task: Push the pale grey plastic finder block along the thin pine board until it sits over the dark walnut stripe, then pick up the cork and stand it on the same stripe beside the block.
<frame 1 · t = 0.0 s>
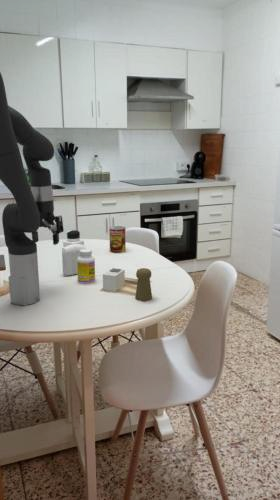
hand: (45, 243, 148), 17 cm above the table, tool pointing down, fingers open, 8 cm apart
finder: (114, 287, 151), point 1 cm above the table, touching board
canned food: (117, 251, 204), on the table
board: (126, 287, 153), on the table
cork: (143, 300, 141), on the table
supplement bottle: (86, 283, 158), on the table
photo printer: (75, 273, 169), on the table
medicine bottle: (74, 255, 196), on the table
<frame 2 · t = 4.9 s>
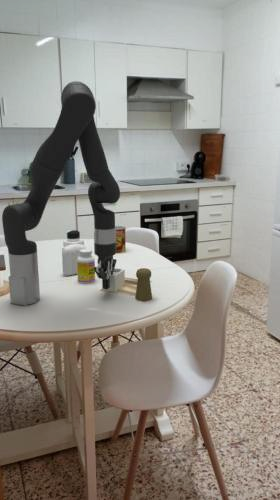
hand: (106, 288, 144), 3 cm above the table, tool pointing down, fingers closed
finder: (114, 287, 151), point 1 cm above the table, touching board, gripper
everything else where it was.
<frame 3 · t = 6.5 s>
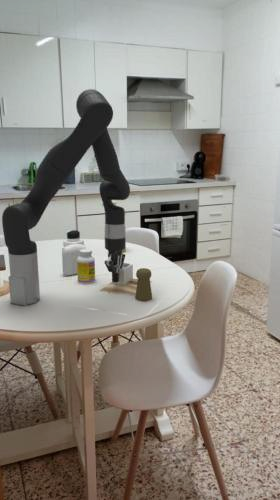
hand: (115, 281, 151), 3 cm above the table, tool pointing down, fingers closed
finder: (122, 281, 158), point 1 cm above the table, touching board, gripper
everything else where it was.
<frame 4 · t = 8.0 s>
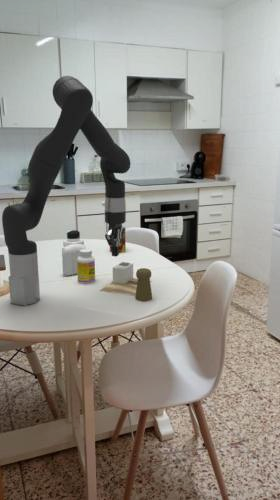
hand: (115, 255, 152), 12 cm above the table, tool pointing down, fingers closed
finder: (123, 280, 159), point 1 cm above the table, touching board
everything else where it was.
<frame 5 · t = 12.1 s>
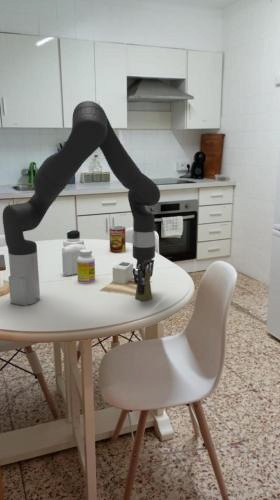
hand: (143, 291, 140), 3 cm above the table, tool pointing down, fingers closed on cork, 4 cm apart
cork: (143, 300, 141), on the table, touching gripper
everything else where it was.
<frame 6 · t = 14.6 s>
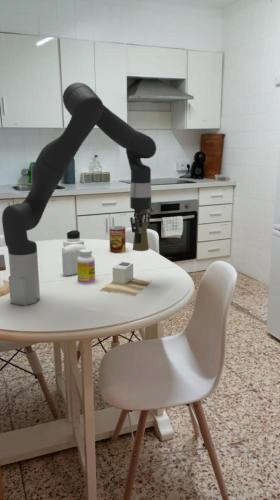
hand: (140, 241, 151), 17 cm above the table, tool pointing down, fingers closed on cork, 4 cm apart
cork: (140, 249, 151), point 14 cm above the table, touching gripper
everything else where it was.
when the fingers open (5 cm above the table, at t = 17.2 s): cork drops 1 cm, resting on board.
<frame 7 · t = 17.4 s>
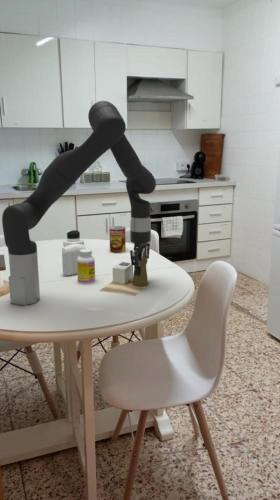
hand: (140, 272, 154), 5 cm above the table, tool pointing down, fingers open, 5 cm apart
cork: (140, 284, 154), point 1 cm above the table, touching board, gripper
everything else where it was.
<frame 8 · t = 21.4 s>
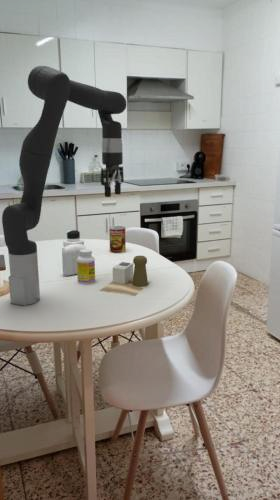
hand: (112, 195, 154), 33 cm above the table, tool pointing down, fingers open, 8 cm apart
cork: (140, 284, 154), resting on board
everything else where it was.
at the end: cork inside the target area (0.9 cm from its centre), resting on board; cork tilted 0°; finder inside the target area (0.9 cm from its centre), point 0.6 cm above the table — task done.
